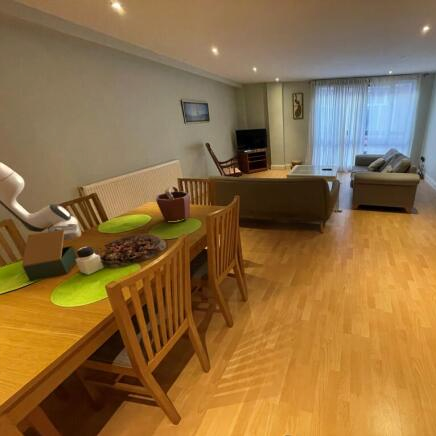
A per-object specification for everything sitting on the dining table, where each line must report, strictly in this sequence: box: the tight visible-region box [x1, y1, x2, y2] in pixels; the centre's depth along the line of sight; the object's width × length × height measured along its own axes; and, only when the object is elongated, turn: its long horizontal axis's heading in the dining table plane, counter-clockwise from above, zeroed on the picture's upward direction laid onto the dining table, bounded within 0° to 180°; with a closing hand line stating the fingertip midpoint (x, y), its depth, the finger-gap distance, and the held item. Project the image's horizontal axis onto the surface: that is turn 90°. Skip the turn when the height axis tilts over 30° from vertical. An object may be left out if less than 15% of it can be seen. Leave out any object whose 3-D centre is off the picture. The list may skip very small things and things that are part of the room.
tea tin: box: [22, 245, 79, 282], centre depth 119 cm, size 16×14×8 cm
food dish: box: [94, 233, 167, 268], centre depth 135 cm, size 35×33×8 cm
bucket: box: [155, 185, 191, 224], centre depth 177 cm, size 24×22×25 cm
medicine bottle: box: [75, 246, 105, 275], centre depth 117 cm, size 7×7×12 cm
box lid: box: [21, 230, 65, 267], centre depth 114 cm, size 17×14×1 cm
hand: (49, 242), depth 119 cm, fingers closed
